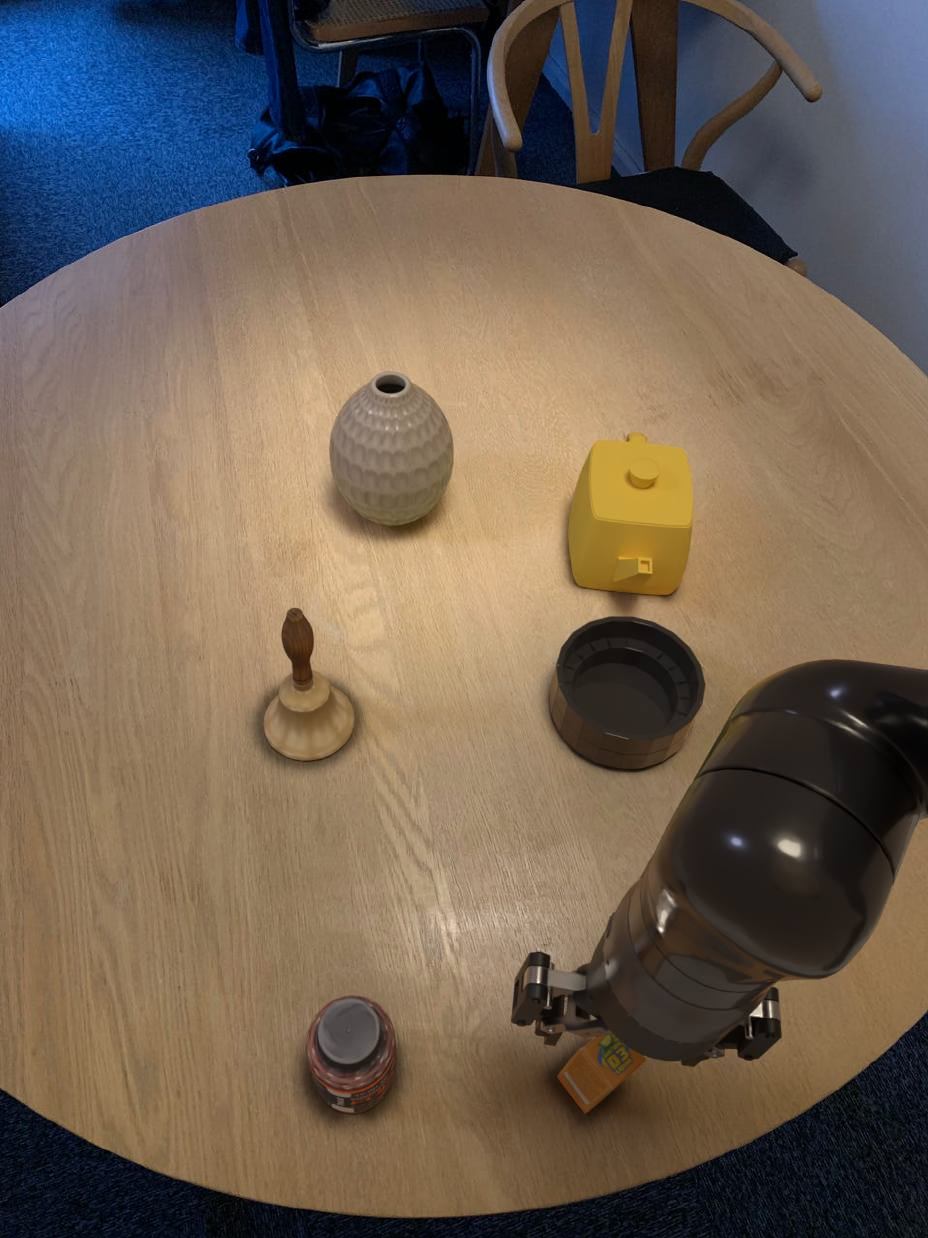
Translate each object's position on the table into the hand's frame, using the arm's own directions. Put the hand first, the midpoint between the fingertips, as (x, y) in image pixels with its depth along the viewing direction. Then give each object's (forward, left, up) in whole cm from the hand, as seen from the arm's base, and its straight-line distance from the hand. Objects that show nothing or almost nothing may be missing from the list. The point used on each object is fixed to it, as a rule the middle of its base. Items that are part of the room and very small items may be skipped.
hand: (618, 1038), depth 58 cm
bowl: (+22, -24, -13) cm, 35 cm away
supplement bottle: (+11, +13, -13) cm, 21 cm away
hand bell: (+38, 0, -13) cm, 40 cm away
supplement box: (0, 0, -13) cm, 13 cm away
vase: (+56, -22, -13) cm, 61 cm away
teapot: (+36, -38, -13) cm, 54 cm away
